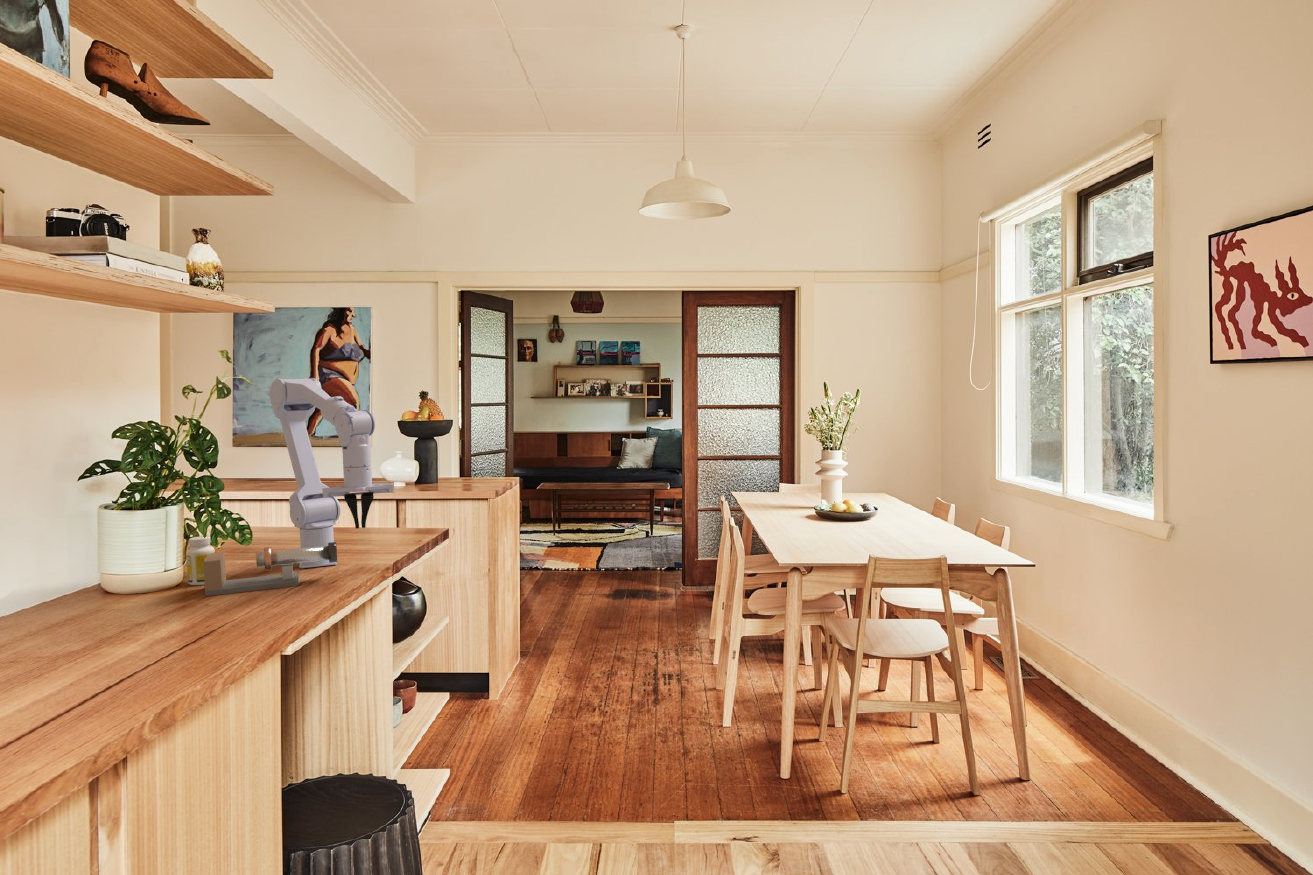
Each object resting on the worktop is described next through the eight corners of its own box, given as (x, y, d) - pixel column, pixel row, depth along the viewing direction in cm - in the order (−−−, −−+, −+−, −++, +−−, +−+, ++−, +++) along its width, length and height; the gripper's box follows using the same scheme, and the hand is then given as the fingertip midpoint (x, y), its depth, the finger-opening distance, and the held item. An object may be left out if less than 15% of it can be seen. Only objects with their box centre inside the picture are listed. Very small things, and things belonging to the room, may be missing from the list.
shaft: (258, 569, 169) (256, 546, 169) (337, 560, 175) (335, 538, 175) (256, 574, 164) (255, 550, 164) (337, 565, 170) (336, 542, 170)
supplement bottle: (222, 579, 173) (219, 535, 172) (206, 586, 168) (203, 540, 167) (199, 579, 174) (196, 535, 173) (182, 585, 168) (179, 540, 168)
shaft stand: (210, 586, 167) (208, 554, 166) (298, 577, 174) (296, 545, 173) (205, 596, 160) (203, 561, 159) (298, 585, 166) (296, 552, 166)
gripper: (321, 470, 167) (324, 533, 168) (393, 465, 172) (396, 527, 173) (321, 466, 173) (324, 528, 174) (390, 462, 179) (393, 522, 180)
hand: (360, 527), depth 174 cm, fingers closed
